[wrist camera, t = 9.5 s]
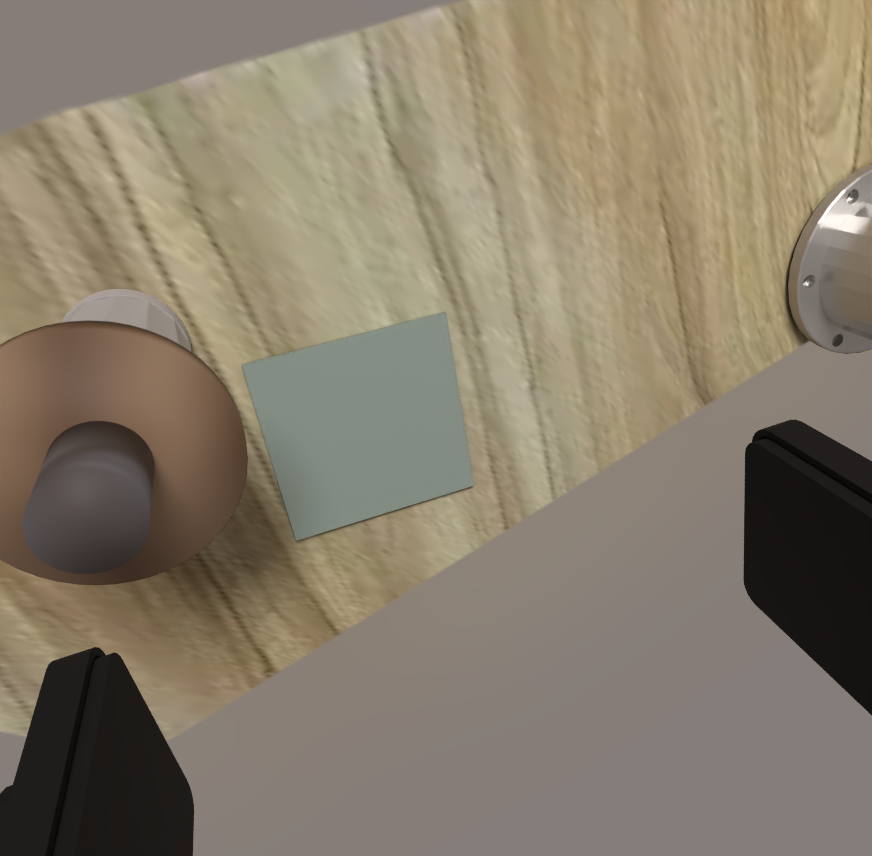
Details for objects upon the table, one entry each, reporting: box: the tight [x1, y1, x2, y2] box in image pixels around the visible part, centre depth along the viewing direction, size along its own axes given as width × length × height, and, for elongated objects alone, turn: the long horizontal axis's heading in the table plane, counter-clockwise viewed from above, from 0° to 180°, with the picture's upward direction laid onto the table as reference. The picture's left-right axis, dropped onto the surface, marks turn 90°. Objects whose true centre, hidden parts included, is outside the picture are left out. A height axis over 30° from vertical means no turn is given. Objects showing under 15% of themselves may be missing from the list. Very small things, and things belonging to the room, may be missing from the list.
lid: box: [0, 320, 248, 585], centre depth 24 cm, size 10×10×5 cm
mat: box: [242, 312, 474, 541], centre depth 42 cm, size 12×12×1 cm
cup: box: [61, 289, 192, 352], centre depth 32 cm, size 8×8×12 cm
